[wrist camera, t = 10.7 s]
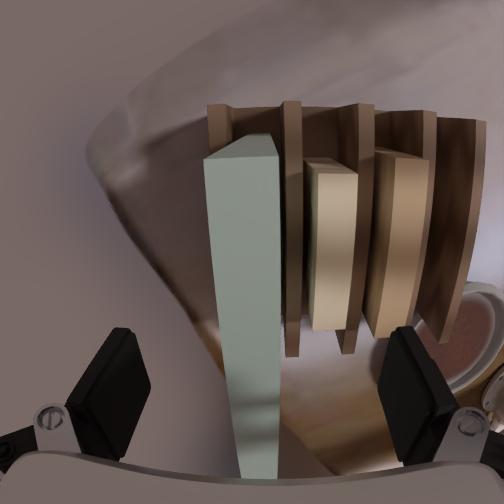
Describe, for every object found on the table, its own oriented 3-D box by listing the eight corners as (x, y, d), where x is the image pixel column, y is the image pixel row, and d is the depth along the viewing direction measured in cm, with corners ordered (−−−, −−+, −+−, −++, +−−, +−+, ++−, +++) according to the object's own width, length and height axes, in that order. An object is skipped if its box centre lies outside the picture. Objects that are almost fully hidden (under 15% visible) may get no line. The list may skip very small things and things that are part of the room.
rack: (419, 301, 29) (447, 342, 23) (236, 309, 30) (228, 357, 24) (440, 118, 22) (486, 121, 16) (222, 109, 23) (206, 105, 17)
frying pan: (565, 304, 27) (412, 421, 34) (554, 294, 30) (406, 406, 36) (558, 201, 22) (366, 348, 29) (542, 194, 25) (359, 331, 31)
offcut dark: (372, 282, 28) (402, 335, 20) (349, 283, 28) (373, 338, 20) (383, 147, 23) (429, 160, 16) (357, 145, 23) (395, 157, 16)
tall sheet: (274, 296, 29) (276, 486, 12) (256, 297, 29) (242, 485, 12) (270, 133, 23) (278, 156, 7) (248, 134, 23) (203, 159, 7)
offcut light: (326, 274, 27) (345, 329, 20) (301, 275, 28) (312, 330, 20) (330, 157, 24) (357, 174, 16) (302, 157, 24) (318, 173, 16)
